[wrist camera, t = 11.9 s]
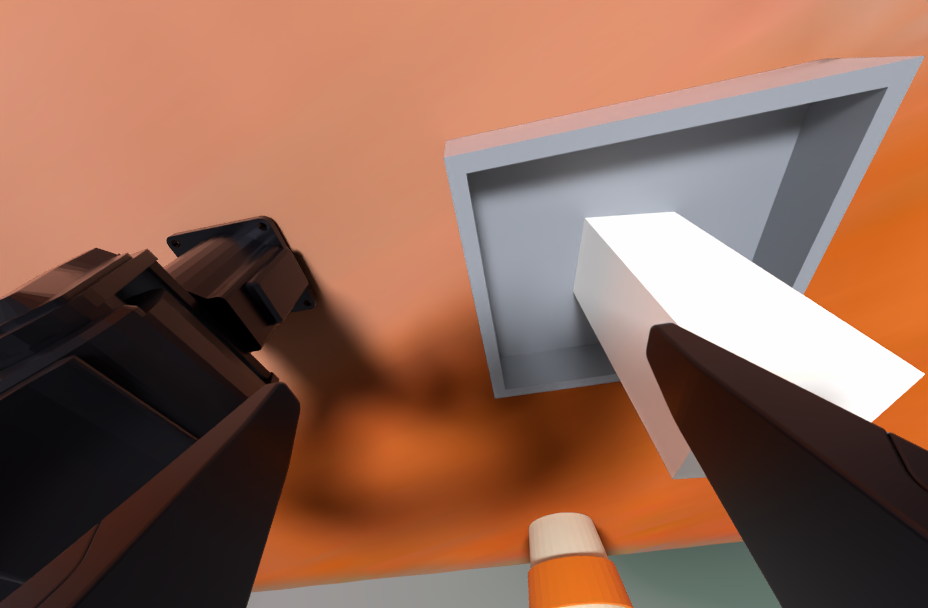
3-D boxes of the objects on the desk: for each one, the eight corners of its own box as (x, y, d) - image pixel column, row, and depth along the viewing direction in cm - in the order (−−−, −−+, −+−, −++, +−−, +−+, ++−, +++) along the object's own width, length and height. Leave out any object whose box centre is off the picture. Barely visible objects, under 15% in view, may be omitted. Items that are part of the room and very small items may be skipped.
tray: (489, 357, 26) (495, 398, 23) (445, 140, 17) (443, 157, 14) (727, 321, 24) (769, 360, 21) (823, 59, 15) (924, 55, 12)
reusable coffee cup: (586, 497, 41) (642, 679, 29) (618, 529, 47) (675, 690, 35) (499, 522, 45) (516, 692, 32) (539, 549, 51) (565, 700, 39)
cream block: (573, 291, 21) (672, 478, 12) (584, 217, 18) (731, 385, 9) (650, 286, 21) (816, 471, 11) (674, 211, 18) (924, 374, 9)
